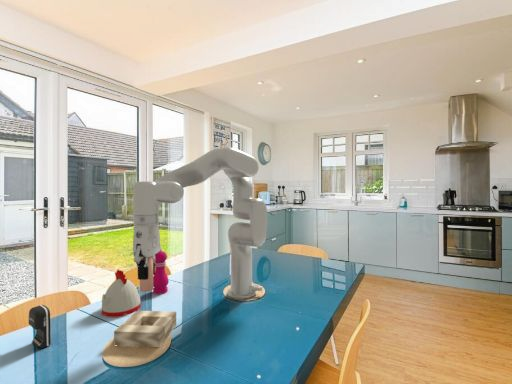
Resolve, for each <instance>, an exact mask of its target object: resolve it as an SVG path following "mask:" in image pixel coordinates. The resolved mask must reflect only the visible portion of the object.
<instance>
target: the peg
mask: <svg viewBox="0 0 512 384" xmlns="http://www.w3.org/2000/svg"><path fill="white" fill-rule="evenodd" d="M141 257H144V256H143V255H141ZM141 260H143V261H144V259H141ZM147 267H148V279H147V280H139V292H141V293H148V292H151V291H152V292H153V288H154V287H153V277H154V275H153V256H151V257H149V258H148V260H147Z"/></svg>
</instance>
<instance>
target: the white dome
mask: <svg viewBox="0 0 512 384" xmlns="http://www.w3.org/2000/svg"><path fill="white" fill-rule="evenodd" d="M114 274H115V280H114V281H113V282H112V283H111V284H110V285H109V286H108V288H107V290H106V291H105V294H102V297H101V298H102V299H101V314H102V316H104V317H108V318H109V317H110V318H117V317H123V316H128V315H130V314H134V313H135V312H136V311H139V309H141V306H142V304H141V297H140V288H137V287H136V285H135V284H134V283H133V282H132V281H131V280H129V279H128V278H126V274H124V270H123V271H122V270H120V269H117V270H116V272H114Z"/></svg>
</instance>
